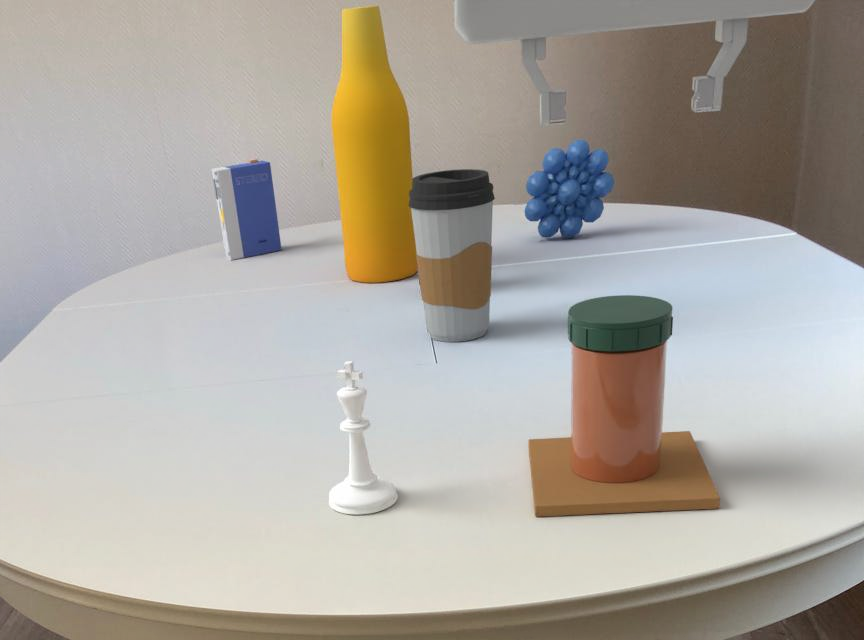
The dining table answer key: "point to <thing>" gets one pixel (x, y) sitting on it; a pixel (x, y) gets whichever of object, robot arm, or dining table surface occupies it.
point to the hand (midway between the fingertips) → (628, 117)
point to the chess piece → (358, 456)
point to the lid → (620, 323)
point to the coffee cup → (454, 251)
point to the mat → (663, 491)
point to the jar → (617, 413)
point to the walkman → (247, 209)
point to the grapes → (568, 189)
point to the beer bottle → (372, 155)
